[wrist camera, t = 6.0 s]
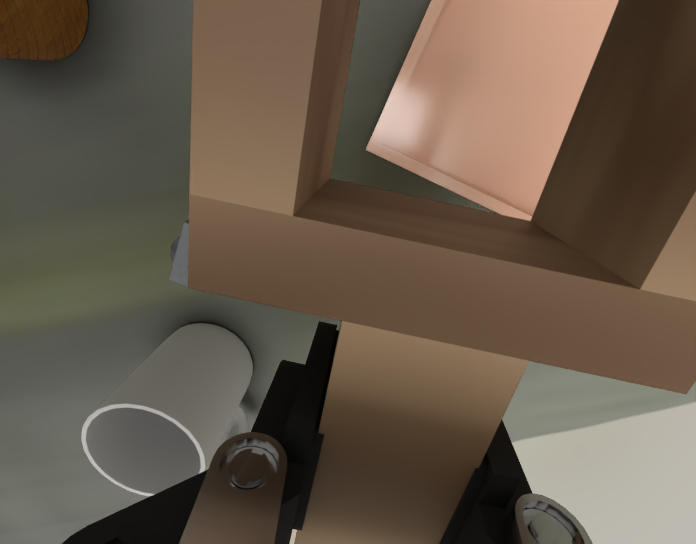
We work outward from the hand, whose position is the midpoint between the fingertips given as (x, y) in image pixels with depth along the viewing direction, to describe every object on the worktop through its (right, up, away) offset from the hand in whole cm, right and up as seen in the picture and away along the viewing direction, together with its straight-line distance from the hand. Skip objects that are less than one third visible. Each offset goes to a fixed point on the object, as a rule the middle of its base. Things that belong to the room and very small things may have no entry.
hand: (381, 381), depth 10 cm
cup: (-11, -5, +19) cm, 22 cm away
